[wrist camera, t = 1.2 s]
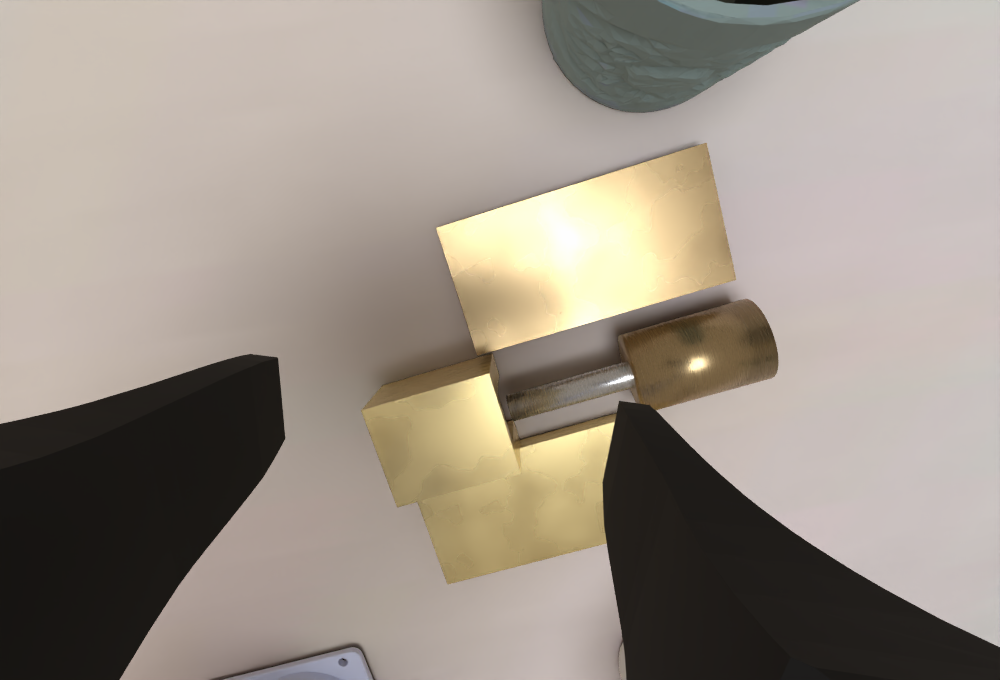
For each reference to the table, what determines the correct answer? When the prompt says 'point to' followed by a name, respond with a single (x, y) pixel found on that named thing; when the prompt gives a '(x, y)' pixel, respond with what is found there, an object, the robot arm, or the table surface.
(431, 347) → the table surface
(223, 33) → the table surface
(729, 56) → the teal cup
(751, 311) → the bronze leaf with pin
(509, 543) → the brass leaf
